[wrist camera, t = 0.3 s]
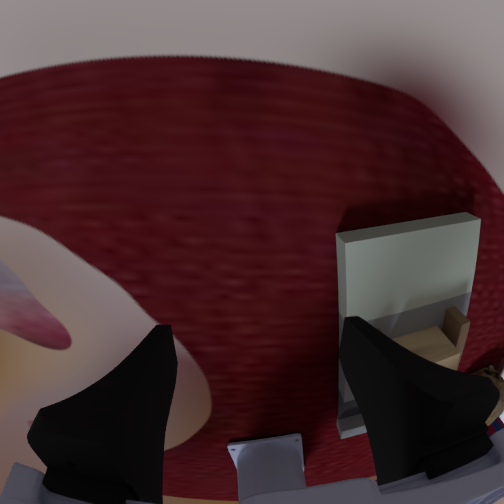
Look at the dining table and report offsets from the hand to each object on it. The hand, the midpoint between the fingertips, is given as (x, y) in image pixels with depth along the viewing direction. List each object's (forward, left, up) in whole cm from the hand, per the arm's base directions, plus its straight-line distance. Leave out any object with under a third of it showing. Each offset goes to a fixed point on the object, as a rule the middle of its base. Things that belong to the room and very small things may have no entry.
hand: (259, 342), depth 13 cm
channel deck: (-11, -12, -10) cm, 19 cm away
